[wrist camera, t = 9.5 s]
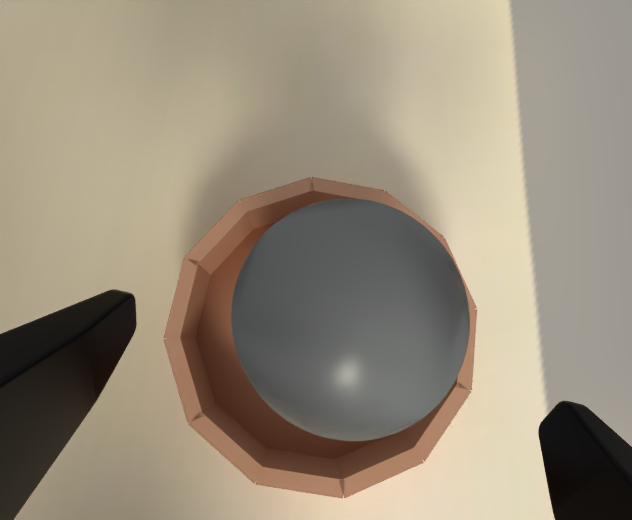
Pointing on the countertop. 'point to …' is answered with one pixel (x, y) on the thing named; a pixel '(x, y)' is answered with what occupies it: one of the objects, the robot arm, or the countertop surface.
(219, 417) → the terracotta bowl
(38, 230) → the countertop surface
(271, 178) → the countertop surface
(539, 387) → the countertop surface
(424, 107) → the countertop surface
